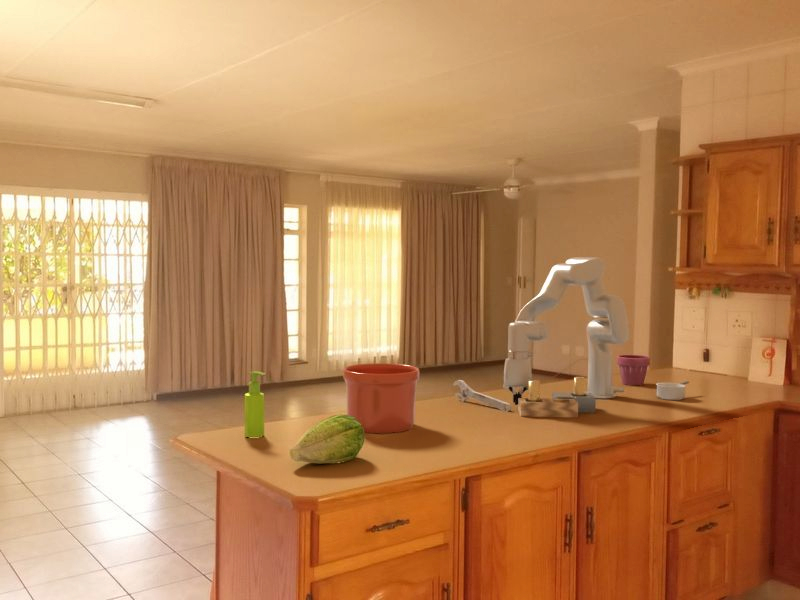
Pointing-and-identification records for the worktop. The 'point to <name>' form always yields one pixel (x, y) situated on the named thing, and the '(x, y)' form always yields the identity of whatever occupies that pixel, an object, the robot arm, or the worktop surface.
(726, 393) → the worktop surface
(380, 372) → the pot
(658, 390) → the saucepan
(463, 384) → the wrench
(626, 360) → the plant pot
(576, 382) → the gold cylinder
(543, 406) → the rack
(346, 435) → the green papaya
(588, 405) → the socket block
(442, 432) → the worktop surface
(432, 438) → the worktop surface
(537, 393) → the amber rod
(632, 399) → the worktop surface
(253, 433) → the soap dispenser
